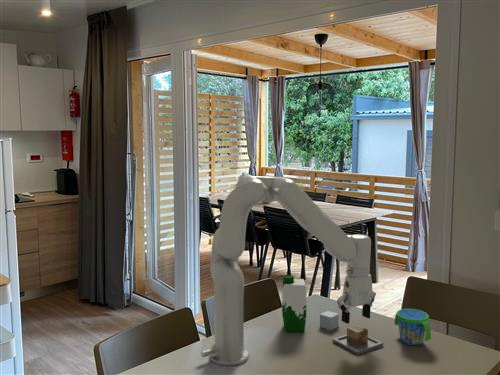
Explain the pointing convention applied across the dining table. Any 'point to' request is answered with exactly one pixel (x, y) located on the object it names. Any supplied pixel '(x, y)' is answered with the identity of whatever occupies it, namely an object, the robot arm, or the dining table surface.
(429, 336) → the snack cup
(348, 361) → the dining table surface
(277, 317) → the dining table surface
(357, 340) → the oak cube
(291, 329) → the soya milk
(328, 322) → the bluegrey block
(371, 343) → the tray
